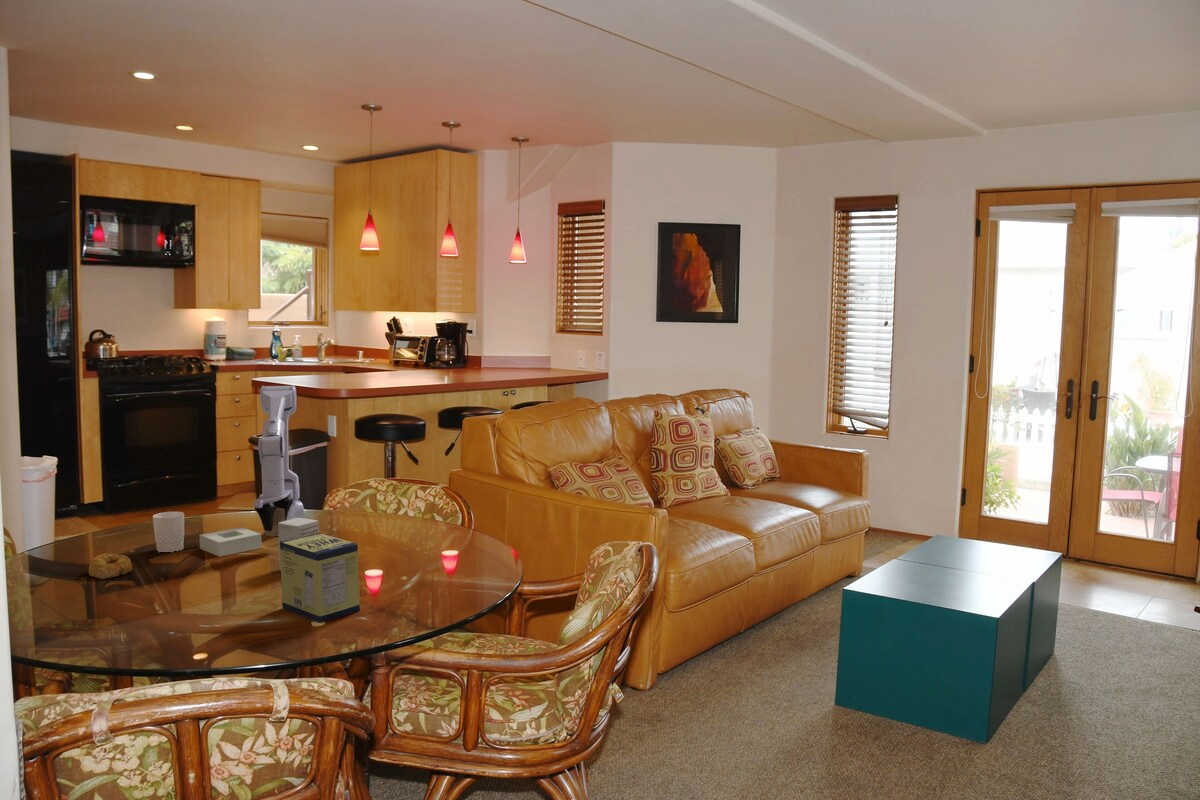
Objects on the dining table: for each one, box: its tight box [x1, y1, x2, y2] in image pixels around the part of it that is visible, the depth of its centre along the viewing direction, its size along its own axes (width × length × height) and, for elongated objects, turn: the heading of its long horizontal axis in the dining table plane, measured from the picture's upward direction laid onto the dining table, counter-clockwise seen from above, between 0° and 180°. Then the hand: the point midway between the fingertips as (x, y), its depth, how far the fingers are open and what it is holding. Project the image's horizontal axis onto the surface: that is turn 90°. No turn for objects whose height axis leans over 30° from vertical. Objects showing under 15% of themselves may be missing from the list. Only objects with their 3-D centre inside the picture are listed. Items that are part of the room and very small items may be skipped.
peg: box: [264, 507, 285, 538], centre depth 248 cm, size 4×4×7 cm
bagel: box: [88, 552, 133, 580], centre depth 229 cm, size 10×11×5 cm
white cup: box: [152, 511, 185, 553], centre depth 250 cm, size 8×8×10 cm
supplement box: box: [278, 517, 320, 571], centre depth 232 cm, size 7×7×13 cm
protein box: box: [280, 532, 361, 624], centre depth 201 cm, size 10×16×16 cm
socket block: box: [199, 526, 263, 558], centre depth 252 cm, size 12×12×4 cm
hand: (274, 527), depth 249 cm, fingers closed on peg, 5 cm apart
